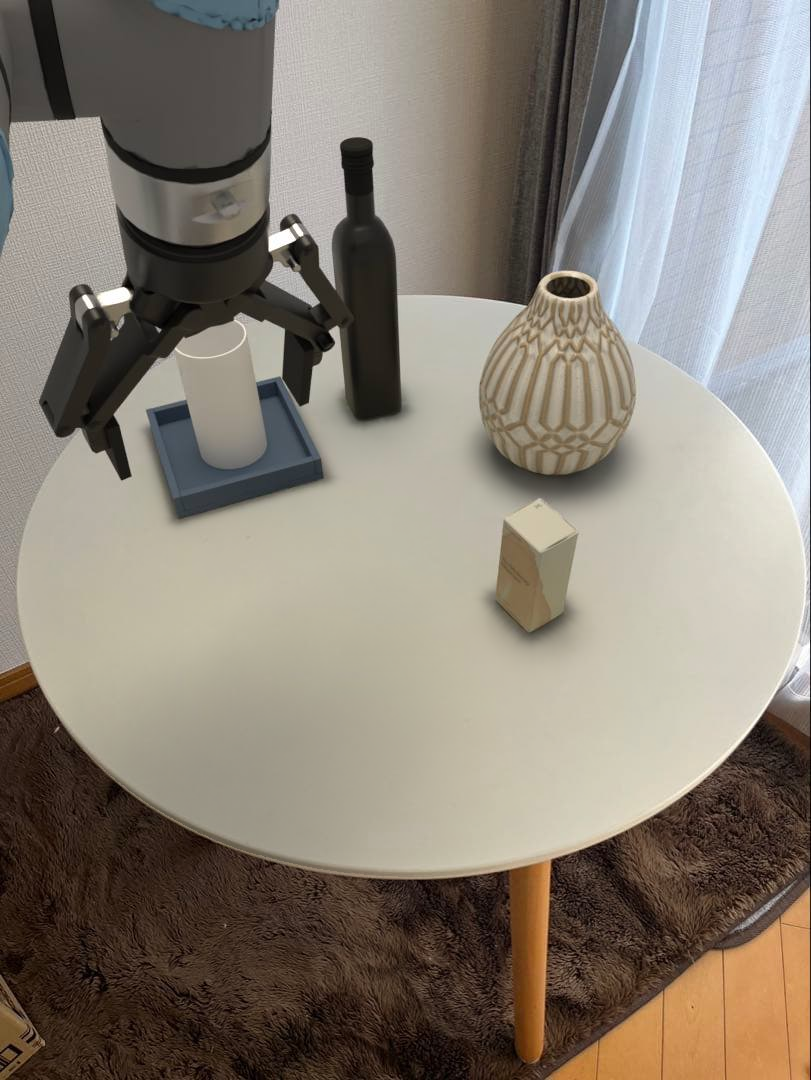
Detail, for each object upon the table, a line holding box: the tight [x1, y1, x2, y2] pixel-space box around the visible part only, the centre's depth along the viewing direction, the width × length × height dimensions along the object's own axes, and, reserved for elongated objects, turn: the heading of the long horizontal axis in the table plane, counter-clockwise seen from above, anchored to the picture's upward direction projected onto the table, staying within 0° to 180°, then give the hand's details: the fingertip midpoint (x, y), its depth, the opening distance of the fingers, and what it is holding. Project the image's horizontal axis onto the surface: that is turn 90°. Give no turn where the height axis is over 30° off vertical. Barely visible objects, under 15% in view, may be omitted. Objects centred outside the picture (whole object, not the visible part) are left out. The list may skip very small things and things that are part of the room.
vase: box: [478, 270, 637, 476], centre depth 90 cm, size 16×16×20 cm
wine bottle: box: [331, 136, 403, 421], centre depth 93 cm, size 6×6×30 cm
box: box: [494, 497, 579, 633], centre depth 79 cm, size 5×4×11 cm
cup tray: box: [145, 375, 325, 519], centre depth 98 cm, size 16×16×3 cm
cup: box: [173, 319, 267, 469], centre depth 93 cm, size 7×7×14 cm
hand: (210, 425), depth 63 cm, fingers open, 13 cm apart
